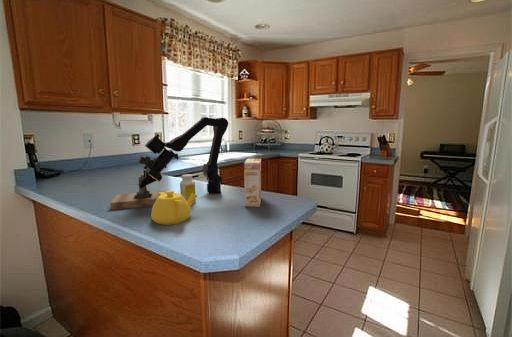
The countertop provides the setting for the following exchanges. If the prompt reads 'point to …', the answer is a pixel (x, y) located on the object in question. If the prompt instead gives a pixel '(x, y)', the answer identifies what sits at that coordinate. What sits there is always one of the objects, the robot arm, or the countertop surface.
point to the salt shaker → (142, 189)
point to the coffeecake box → (252, 182)
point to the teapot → (171, 208)
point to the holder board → (133, 200)
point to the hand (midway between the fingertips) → (139, 186)
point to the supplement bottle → (187, 186)
